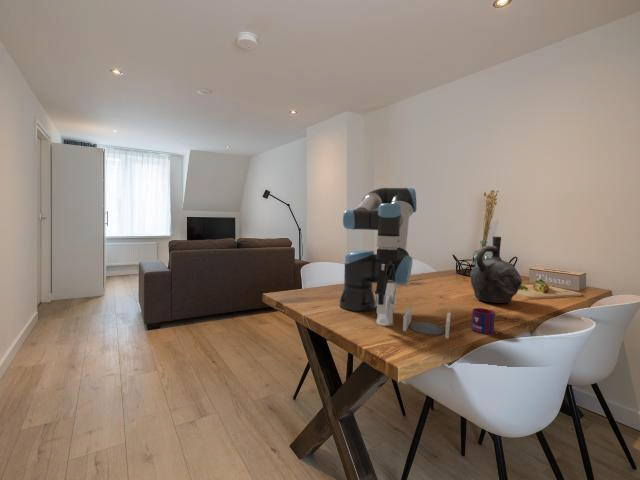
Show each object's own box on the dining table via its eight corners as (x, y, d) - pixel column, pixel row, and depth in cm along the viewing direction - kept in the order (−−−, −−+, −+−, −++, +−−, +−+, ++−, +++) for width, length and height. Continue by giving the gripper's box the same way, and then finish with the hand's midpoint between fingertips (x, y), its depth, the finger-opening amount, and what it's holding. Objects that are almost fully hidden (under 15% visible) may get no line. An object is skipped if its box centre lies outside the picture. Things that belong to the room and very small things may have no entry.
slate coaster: (407, 331, 105) (407, 329, 105) (412, 321, 115) (412, 320, 115) (443, 337, 100) (443, 335, 100) (445, 326, 110) (445, 325, 110)
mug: (466, 328, 109) (468, 309, 108) (485, 325, 113) (487, 306, 113) (484, 335, 103) (486, 314, 102) (504, 331, 108) (505, 311, 107)
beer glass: (391, 328, 108) (392, 284, 107) (371, 323, 111) (373, 281, 110) (397, 322, 114) (399, 280, 112) (379, 318, 117) (380, 278, 116)
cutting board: (531, 300, 154) (532, 285, 153) (492, 289, 176) (493, 276, 176) (584, 297, 164) (585, 282, 163) (541, 287, 186) (542, 274, 186)
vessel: (512, 312, 130) (518, 239, 128) (458, 301, 145) (461, 235, 143) (526, 302, 148) (530, 237, 146) (475, 293, 163) (479, 234, 161)
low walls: (402, 331, 105) (403, 316, 105) (408, 320, 116) (408, 307, 116) (448, 338, 99) (449, 322, 99) (449, 326, 110) (450, 312, 110)
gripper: (391, 251, 98) (388, 320, 99) (404, 246, 120) (402, 302, 122) (367, 250, 101) (365, 316, 102) (385, 245, 123) (382, 299, 125)
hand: (385, 308), depth 112 cm, fingers open, 13 cm apart
